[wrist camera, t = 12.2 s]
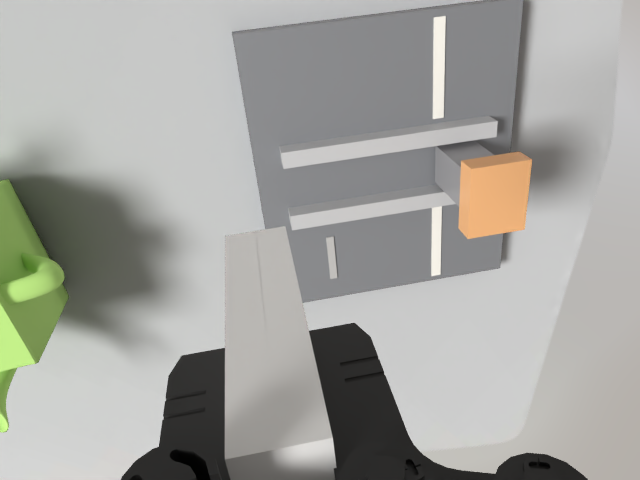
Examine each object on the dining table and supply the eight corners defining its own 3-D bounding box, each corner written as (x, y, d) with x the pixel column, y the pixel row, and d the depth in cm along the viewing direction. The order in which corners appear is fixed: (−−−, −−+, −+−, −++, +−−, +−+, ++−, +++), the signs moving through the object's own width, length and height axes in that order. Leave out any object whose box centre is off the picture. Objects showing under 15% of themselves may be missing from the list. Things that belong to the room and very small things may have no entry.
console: (277, 297, 45) (280, 317, 43) (232, 32, 35) (232, 37, 32) (492, 259, 47) (508, 277, 45) (513, -4, 37) (534, -1, 34)
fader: (428, 194, 41) (467, 239, 34) (429, 133, 39) (471, 169, 32) (476, 186, 41) (524, 229, 35) (480, 125, 39) (532, 159, 32)
